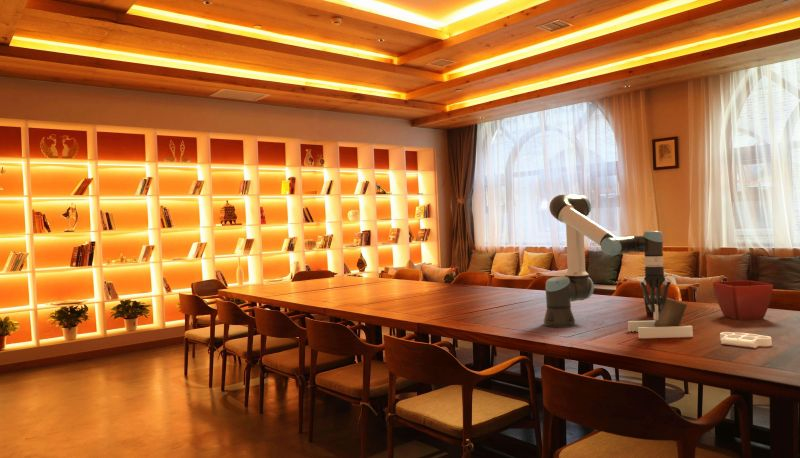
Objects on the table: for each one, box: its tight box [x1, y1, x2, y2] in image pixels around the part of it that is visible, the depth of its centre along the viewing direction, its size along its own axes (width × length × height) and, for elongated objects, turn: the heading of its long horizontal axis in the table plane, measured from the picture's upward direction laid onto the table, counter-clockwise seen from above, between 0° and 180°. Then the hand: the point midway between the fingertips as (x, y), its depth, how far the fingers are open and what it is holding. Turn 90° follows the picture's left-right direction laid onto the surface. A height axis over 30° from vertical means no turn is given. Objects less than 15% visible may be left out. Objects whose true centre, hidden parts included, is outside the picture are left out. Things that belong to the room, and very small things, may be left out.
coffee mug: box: [643, 295, 661, 318], centre depth 283 cm, size 12×9×10 cm
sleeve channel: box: [627, 320, 694, 339], centre depth 244 cm, size 22×15×4 cm
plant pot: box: [712, 280, 774, 321], centre depth 270 cm, size 19×19×17 cm
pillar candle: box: [654, 297, 688, 327], centre depth 243 cm, size 10×10×15 cm
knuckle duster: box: [719, 331, 773, 349], centre depth 220 cm, size 3×18×15 cm
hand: (656, 319), depth 243 cm, fingers closed
